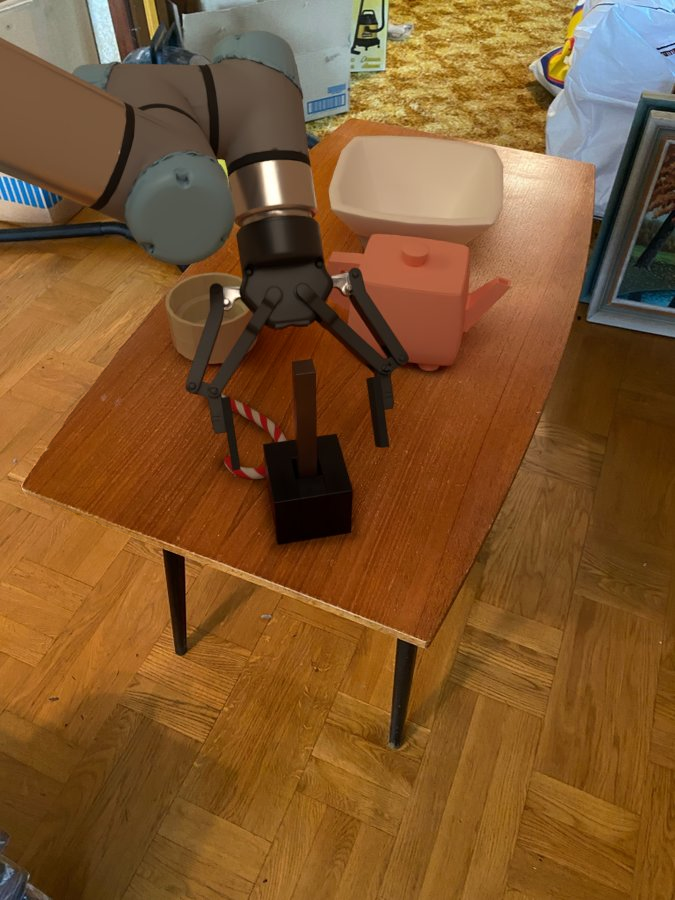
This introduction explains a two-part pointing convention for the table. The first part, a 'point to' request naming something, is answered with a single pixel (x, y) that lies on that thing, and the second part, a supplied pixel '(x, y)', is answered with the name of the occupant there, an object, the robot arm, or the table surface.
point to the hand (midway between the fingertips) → (310, 458)
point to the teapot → (418, 294)
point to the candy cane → (262, 422)
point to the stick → (305, 417)
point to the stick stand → (308, 492)
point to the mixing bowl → (204, 315)
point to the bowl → (417, 188)
